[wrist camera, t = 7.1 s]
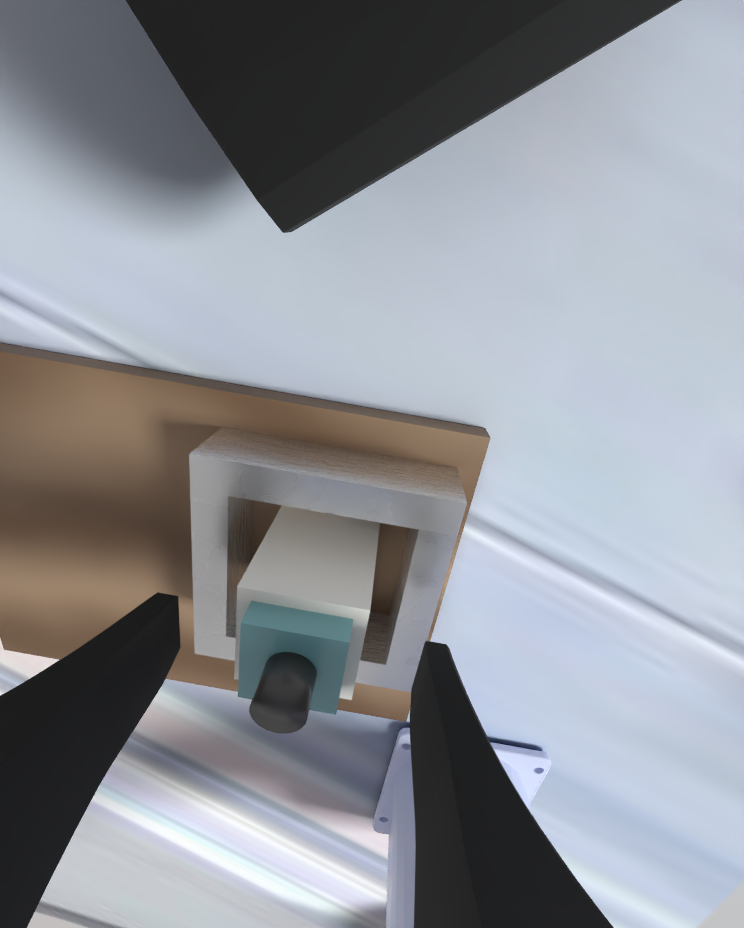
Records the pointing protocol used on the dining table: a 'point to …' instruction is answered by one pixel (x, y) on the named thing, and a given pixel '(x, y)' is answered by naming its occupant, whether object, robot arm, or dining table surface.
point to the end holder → (329, 491)
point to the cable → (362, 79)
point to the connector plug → (304, 616)
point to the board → (160, 496)
